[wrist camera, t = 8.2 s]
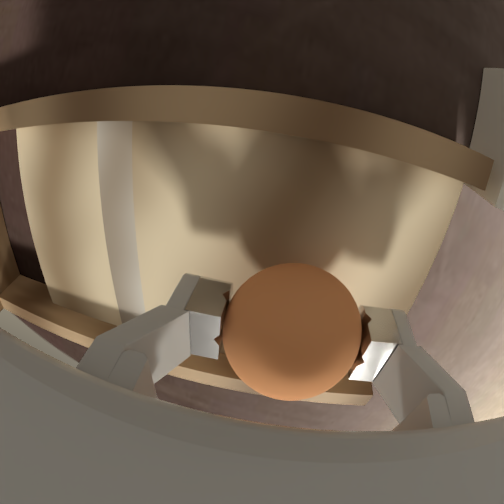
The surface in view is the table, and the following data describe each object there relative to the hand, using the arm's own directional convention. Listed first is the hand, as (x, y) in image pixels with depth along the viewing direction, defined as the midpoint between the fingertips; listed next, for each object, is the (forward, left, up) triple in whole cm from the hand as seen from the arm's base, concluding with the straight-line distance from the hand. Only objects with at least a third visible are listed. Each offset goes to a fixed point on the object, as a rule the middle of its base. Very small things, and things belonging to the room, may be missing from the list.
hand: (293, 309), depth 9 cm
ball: (0, 0, +1) cm, 1 cm away
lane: (+6, 0, -3) cm, 7 cm away
